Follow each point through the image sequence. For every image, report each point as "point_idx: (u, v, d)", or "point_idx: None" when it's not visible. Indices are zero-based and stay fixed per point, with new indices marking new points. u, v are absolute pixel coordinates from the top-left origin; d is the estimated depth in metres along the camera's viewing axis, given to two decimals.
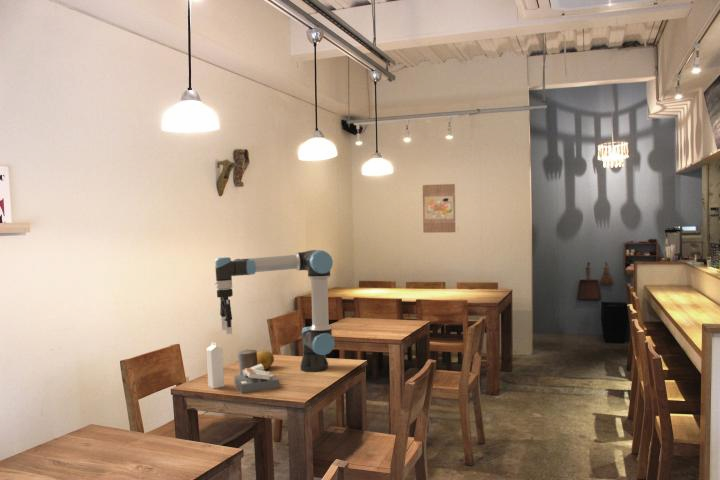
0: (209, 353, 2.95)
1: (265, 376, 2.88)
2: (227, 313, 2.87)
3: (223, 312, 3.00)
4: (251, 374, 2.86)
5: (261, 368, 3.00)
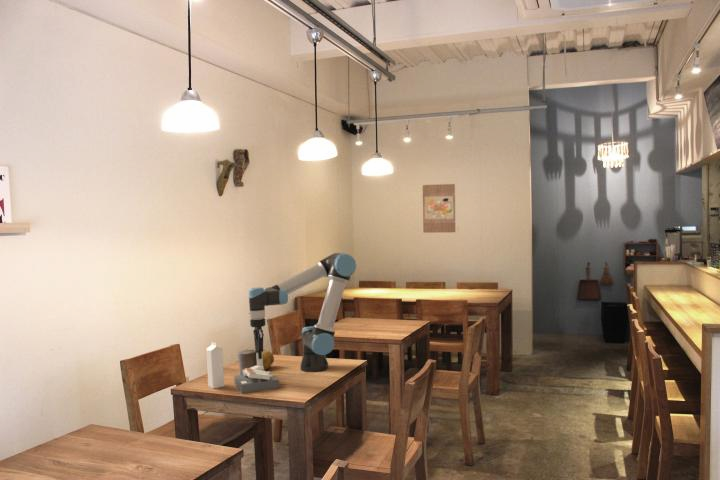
0: (209, 353, 2.95)
1: (265, 376, 2.88)
2: (259, 346, 2.98)
3: None
4: (251, 374, 2.86)
5: (261, 368, 3.00)
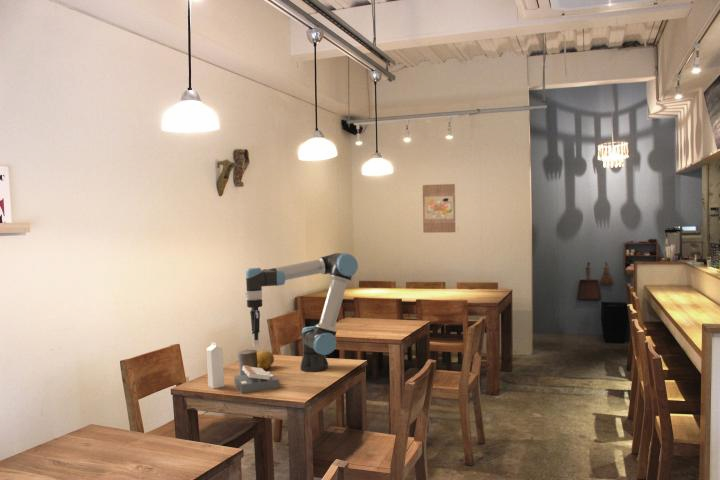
0: (209, 353, 2.95)
1: (265, 376, 2.88)
2: (255, 327, 2.95)
3: None
4: (251, 374, 2.86)
5: None
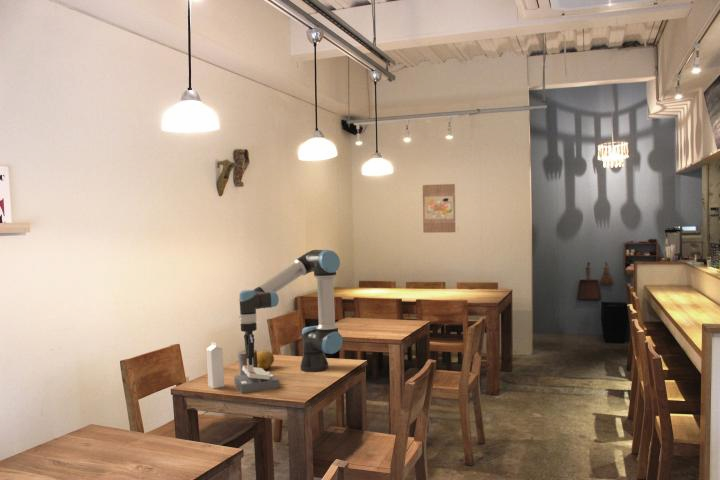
0: (209, 353, 2.95)
1: (265, 376, 2.88)
2: (250, 352, 2.84)
3: None
4: (251, 374, 2.86)
5: None
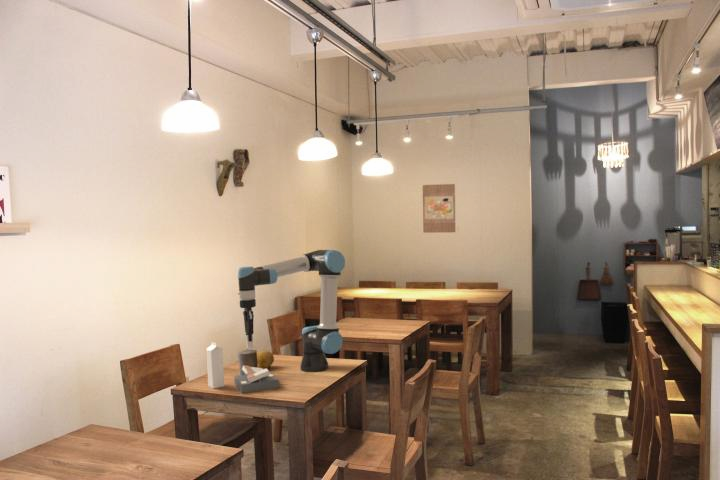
0: (209, 353, 2.95)
1: (264, 373, 2.88)
2: (249, 328, 2.84)
3: None
4: (251, 378, 2.86)
5: None
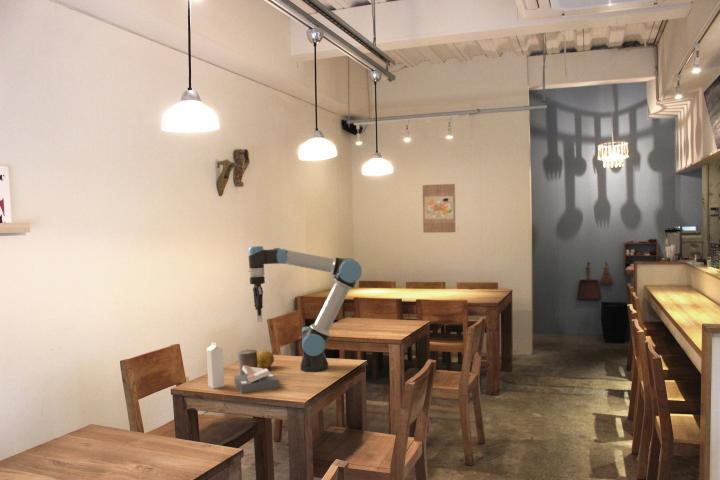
0: (209, 353, 2.95)
1: (264, 373, 2.88)
2: (258, 303, 3.05)
3: None
4: (251, 379, 2.86)
5: None
